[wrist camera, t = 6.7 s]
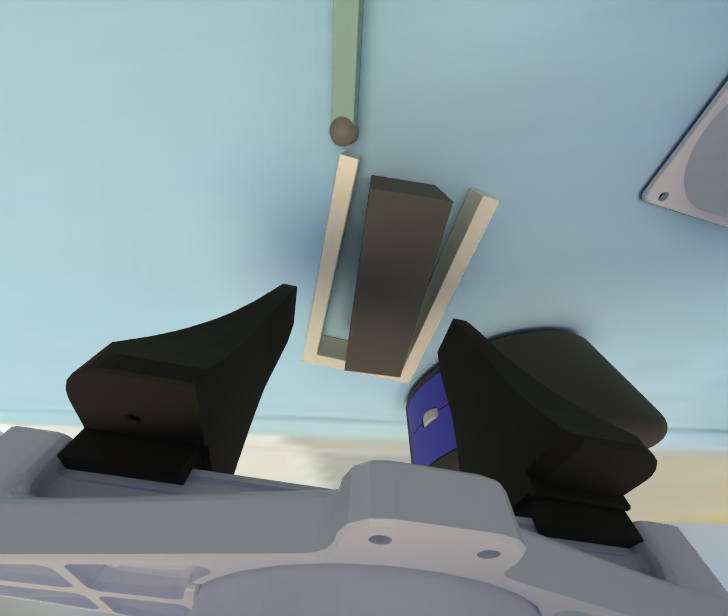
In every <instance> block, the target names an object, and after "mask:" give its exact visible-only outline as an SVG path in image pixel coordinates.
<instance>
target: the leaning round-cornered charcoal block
mask: <svg viewBox="0 0 728 616" xmlns="http://www.w3.org/2000/svg"><path fill="white" fill-rule="evenodd" d="M490 342H491V343H492V344H493V345H494V346H495V347H496V348H497V349H498V350H499V351H501V352H502V353H503V354H504V355H505V356H506V357H507V358H509V359H510V360H511V361H512V362H513V363H515V364H516V365H517V366H518V367H519V368H521V369H522V370H523V371H525V372H526V373H527V374H529V375H530V376H531V377H533V378H534V379H536V380H537V381H538V382H540V383H541V384H543V385H544V386H546V387H547V388H549V389H550V390H552V391H553V392H555V393H557V394H558V395H560V396H561V397H563V398H565V399H566V400H568V401H570V402H571V403H573V404H575V405H577V406H578V407H580V408H582V409H584V410H586V411H588V412H589V413H591V414H593V415H595V416H597V417H599V418H601V419H603V420H605V421H607V422H609V423H611V424H613V425H615V426H617V427H619V428H622V429H624V430H626V431H628V432H630V433H632V434H634V435H636V436H637V437H638V438H639V439H640V440H641V441H642V442H643V443H644V445H645V446H646V447H647V448H650V447H652V446H654V445H656V444H657V443H659V442H660V441H661V440H662V439H663V438H664V436H665V435H666V433H667V422H666V420H665V418H664V417H663V415H662V414H661V413H660V412H659V411H658V410H657V409H656V408H655V407H654V406H653V405H652V404H651V403H650V402H649V401H648V400H647V399H646V398H645V397H644V396H643V395H642V394H641V393H640V392H639V391H638V390H637V389H636V388H635V387H634V386H633V385H632V384H631V383H630V382H629V381H628V380H627V379H626V378H625V377H624V376H623V375H622V374H621V373H620V372H619V371H618V370H617V369H616V368H614V367H613V366H612V365H611V364H610V363H609V362H608V361H607V360H606V359H605V358H604V357H603V356H602V355H601V354H600V353H599V352H598V351H597V350H596V349H595V348H594V347H593V346H592V345H591V344H590V343H589V342H588V341H587V340H586V339H585V338H583V337H581V336H579V335H576V334H573V333H570V332H565V331H552V330H551V331H534V332H526V333H520V334H514V335H510V336H505V337H502V338H498V339H494V340H491V341H490ZM406 415H407V425H408V435H409V444H410V454H411V463H412V464H415V465H422V466H428V467H434V468H441V469H447V470H454V471H459V462H458V453H457V445H456V438H455V432H454V425H453V420H452V415H451V411H450V408H449V404H448V400H447V396H446V393H445V389H444V385H443V381H442V377H441V373H440V368H439V366H438V367H436V368H435V369H434V370H432V371H431V372H430V373H428V374H427V375H426V376H425V377H424V378H423V379H422V380H421V381H420V382H419V383H418V384H417V385H416V387H415V388H414V389H413V391H412V392H411V394H410V396H409V398H408V401H407V405H406Z"/></svg>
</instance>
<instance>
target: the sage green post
mask: <svg viewBox="0 0 728 616" xmlns="http://www.w3.org/2000/svg"><path fill="white" fill-rule="evenodd" d="M363 3H364V0H333V67H332V123H331V126H330V136H331V139H332V140H333V142H334V143H335V144H337V145H338V146H347V145H350V144H352V143H354V142H355V141H356V140H357V138H358V133H359V131H358V127H357V119H358V99H359V80H360V61H361V42H362V23H363Z"/></svg>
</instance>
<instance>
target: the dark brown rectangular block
mask: <svg viewBox="0 0 728 616" xmlns="http://www.w3.org/2000/svg"><path fill="white" fill-rule="evenodd" d="M452 203H453V201H452V200H451V199H450V198H449V197H447V196H446V195H445V194H444V193H443V192H442V191H441V190H440V189H439V188H437V187H436V186H435V185H430V184H423V183H417V182H411V181H405V180H399V179H392V178H386V177H380V176H374V175H372V176H371V183H370V190H369V197H368V204H367V212H366V219H365V226H364V233H363V240H362V247H361V254H360V261H359V268H358V275H357V282H356V289H355V296H354V303H353V311H352V318H351V325H350V332H349V339H348V347H347V354H346V361H345V369H344V370H346V371H354V372H361V373H369V374H377V375H384V376H392V377H401V374H402V370H403V367H404V364H405V360H406V357H407V354H408V350H409V347H410V344H411V340H412V337H413V333H414V330H415V327H416V323H417V320H418V317H419V313H420V310H421V307H422V303H423V300H424V297H425V293H426V290H427V287H428V283H429V280H430V277H431V273H432V270H433V267H434V263H435V260H436V257H437V253H438V250H439V247H440V243H441V240H442V237H443V233H444V230H445V227H446V223H447V220H448V217H449V213H450V210H451V207H452Z"/></svg>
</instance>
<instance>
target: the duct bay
mask: <svg viewBox="0 0 728 616" xmlns="http://www.w3.org/2000/svg"><path fill="white" fill-rule="evenodd" d="M360 159H361V156H359V155H355V154H352V153H348V152H343V153H341V154H340V157H339V162H338V168H337V173H336V179H335V184H334V190H333V195H332V201H331V206H330V212H329V217H328V223H327V228H326V234H325V239H324V245H323V250H322V255H321V261H320V266H319V272H318V277H317V283H316V288H315V294H314V299H313V305H312V310H311V316H310V321H309V327H308V332H307V338H306V343H305V349H304V354H303V360H302V361H305V362H309V363H314V364H319V365H323V366H328V367H333V368H337V369H342V370H344V369H345V361H346V354H347V347H348V341H346V340H342V339H337V338H333V337H328V336H324V335H322V332H323V328H324V323H325V318H326V314H327V309H328V305H329V300H330V296H331V291H332V287H333V282H334V277H335V273H336V268H337V264H338V259H339V255H340V250H341V245H342V241H343V236H344V232H345V227H346V223H347V218H348V214H349V209H350V204H351V200H352V195H353V191H354V186H355V182H356V177H357V173H358V168H359V163H360ZM499 202H500V201H499V200H497V199H496V198H494V197H492V196H490V195H488V194H487V193H485V192H481V191H478V190H474V189H471V188H470V190H469V192H468V194H467V197H466V199H465V201H464V204H463V206H462V208H461V211H460V213H459V215H458V218H457V220H456V222H455V224H454V227H453V229H452V231H451V234H450V236H449V238H448V241H447V243H446V245H445V248H444V250H443V252H442V255H441V257H440V259H439V262H438V264H437V266H436V269H435V271H434V273H433V275H432V278H431V280H430V282H429V285H428V287H427V290H426V293H425V297H424V300H423V303H422V307H421V310H420V313H419V317H418V320H417V323H416V327H415V330H414V333H413V337H412V340H411V344H410V347H409V350H408V354H407V357H406V360H405V364H404V367H403V370H402V374H401V377H392V376H384V375H377V374H369V373H361V372H356V373H361V374H366V375H370V376H375V377H380V378H384V379H389V380H394V381H399V382H403V383H408V384H409V383H410V381H411V379H412V377H413V375H414V373H415V371H416V369H417V367H418V365H419V363H420V361H421V359H422V357H423V355H424V353H425V351H426V349H427V347H428V345H429V343H430V341H431V339H432V337H433V335H434V333H435V331H436V329H437V327H438V325H439V323H440V320H441V318H442V316H443V314H444V312H445V310H446V308H447V306H448V304H449V302H450V300H451V298H452V296H453V294H454V292H455V290H456V288H457V286H458V284H459V282H460V280H461V278H462V276H463V274H464V272H465V270H466V268H467V266H468V264H469V262H470V260H471V258H472V256H473V254H474V252H475V250H476V248H477V246H478V244H479V242H480V240H481V238H482V236H483V234H484V232H485V230H486V228H487V226H488V224H489V222H490V220H491V218H492V216H493V214H494V212H495V210H496V208H497V206H498V204H499ZM352 372H354V371H352Z"/></svg>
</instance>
